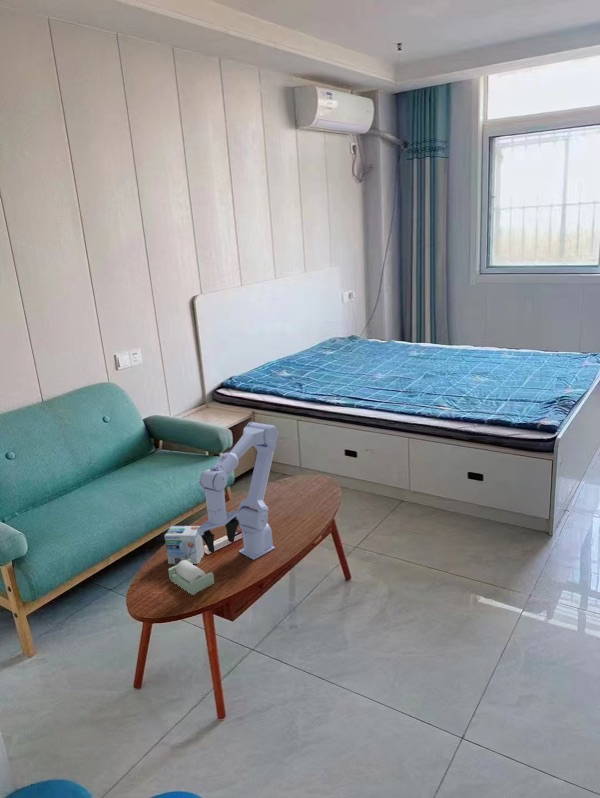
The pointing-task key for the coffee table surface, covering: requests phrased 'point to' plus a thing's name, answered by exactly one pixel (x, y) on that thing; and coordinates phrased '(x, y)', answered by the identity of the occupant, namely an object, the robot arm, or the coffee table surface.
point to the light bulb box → (183, 544)
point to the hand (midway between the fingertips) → (221, 546)
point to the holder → (193, 586)
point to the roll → (189, 571)
